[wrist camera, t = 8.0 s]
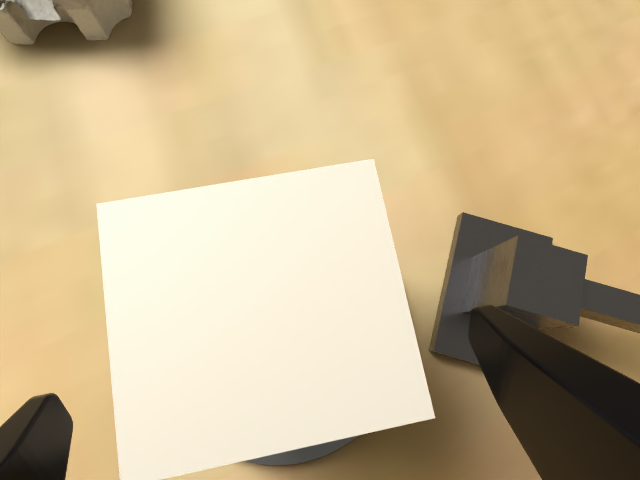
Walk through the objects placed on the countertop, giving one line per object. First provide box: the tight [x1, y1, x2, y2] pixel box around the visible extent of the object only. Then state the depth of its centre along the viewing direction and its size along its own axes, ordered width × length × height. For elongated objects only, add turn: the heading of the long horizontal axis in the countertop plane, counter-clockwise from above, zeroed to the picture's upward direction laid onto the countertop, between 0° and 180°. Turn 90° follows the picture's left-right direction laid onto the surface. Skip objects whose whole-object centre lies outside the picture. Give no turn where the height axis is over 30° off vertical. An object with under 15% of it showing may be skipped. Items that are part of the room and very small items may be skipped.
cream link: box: [97, 159, 435, 480], centre depth 12 cm, size 5×5×10 cm
